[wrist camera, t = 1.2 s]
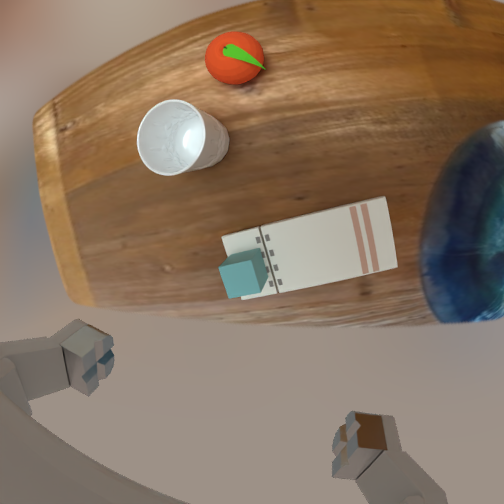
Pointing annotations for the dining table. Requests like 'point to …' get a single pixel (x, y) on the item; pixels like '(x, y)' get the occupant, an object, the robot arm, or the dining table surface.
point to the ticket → (331, 244)
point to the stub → (247, 265)
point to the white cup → (180, 138)
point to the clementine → (234, 58)
